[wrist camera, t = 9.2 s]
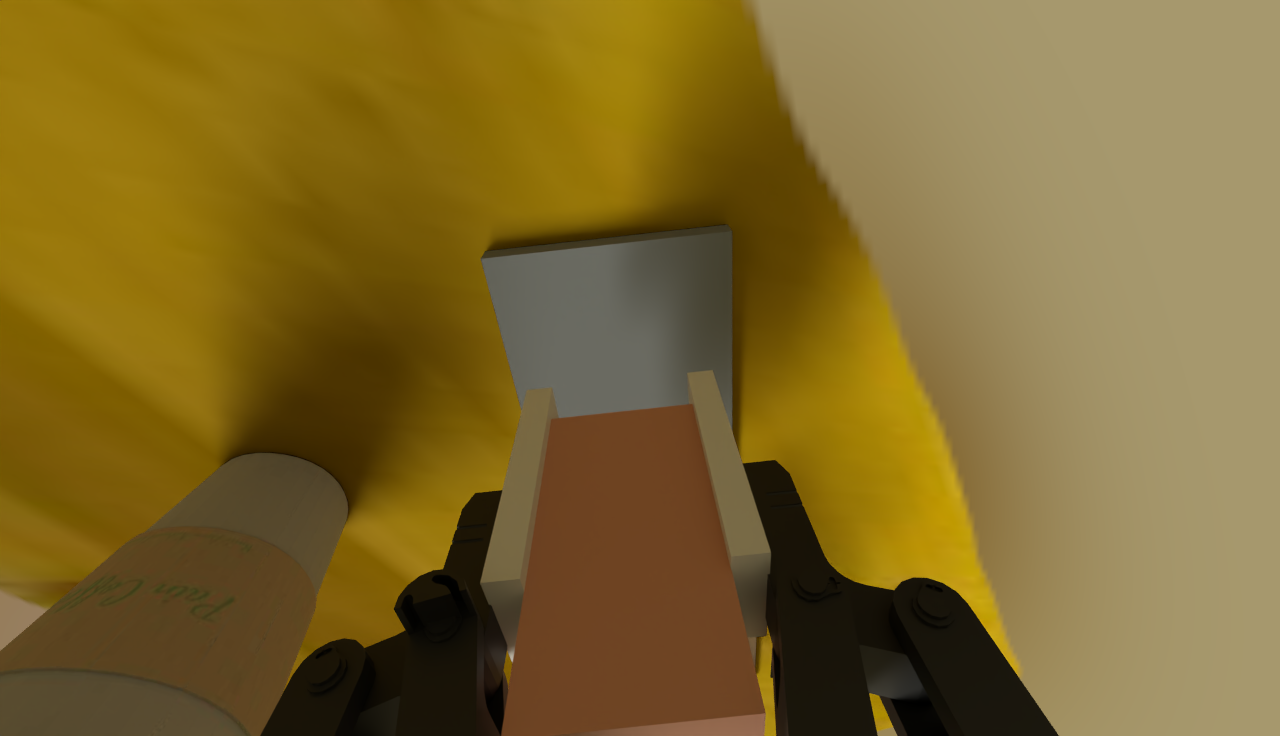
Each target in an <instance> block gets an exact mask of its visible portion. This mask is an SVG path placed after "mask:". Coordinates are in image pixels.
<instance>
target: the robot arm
mask: <svg viewBox="0 0 1280 736" xmlns="http://www.w3.org/2000/svg"><path fill="white" fill-rule="evenodd" d="M687 380H688V398H689V404H693V409H694V413H695V417H696V422H697V426H698V430H699V434H700V439H701V443H702V447H703V452H704V456H705V460H706V464H707V469H708V473H709V477H710V481H711V486H712V490H713V494H714V499H715V503H716V507H717V511H718V516H719V520H720V524H721V529H722V533H723V537H724V541H725V546H726V550H727V554H728V558H729V563H730V567H731V570H732V573H733V578H734V582H735V586H736V590H737V595H738V599H739V603H740V607H741V612H742V616H743V620H744V624H745V629H746V633H747V637H748V638H750V637H760V636H766V634H767V625H768V629H769V632H770V636H771V640H772V643H773V648H772V663H771V678H773V686H774V703H775V719H776V736H878V735H877V730H876V726H875V721H874V716H873V711H872V706H871V701H870V696H869V693H872V694H876V695H879V696H880V698H881V700H882V703H883V705H884V707H885V709H886V711H887V714H888V716H889V718H890V720H891V723H892V725H893V727H894V729H895V731H896V733H897V735H898V736H1058V734H1057V732H1056V731H1055V729H1054V728H1053V727H1052V726H1051V724H1050V723H1049V721H1048V719H1047V718H1046V716H1045V715H1044V714H1043V712H1042V711H1041V709H1040V708H1039V706H1038V705H1037V703H1036V702H1035V700H1034V699H1033V698H1032V696H1031V695H1030V693H1029V692H1028V690H1027V689H1026V687H1025V686H1024V685H1023V683H1022V682H1021V680H1020V679H1019V677H1018V676H1017V674H1016V673H1015V671H1014V670H1013V669H1012V667H1011V666H1010V664H1009V663H1008V661H1007V660H1006V658H1005V657H1004V655H1003V654H1002V653H1001V651H1000V650H999V648H998V647H997V645H996V644H995V642H994V641H993V640H992V638H991V637H990V635H989V634H988V632H987V631H986V629H985V628H984V626H983V625H982V624H981V622H980V621H979V619H978V618H977V616H976V615H975V613H974V612H973V611H972V609H971V608H970V606H969V605H968V603H967V602H966V601H965V600H964V599H963V598H962V597H961V596H960V595H959V594H958V593H957V592H956V591H955V590H953V589H951V588H950V587H948V586H947V585H945V584H943V583H941V582H938V581H935V580H932V579H929V578H911V579H908V580H905V581H902V582H901V583H900V584H899V585H898V587H897V588H896V589H895V591H894V590H889V589H884V588H878V587H873V586H868V585H864V584H860V583H857V582H854V581H852V580H850V579H848V578H846V577H844V576H843V575H841V574H840V573H839V572H837V571H836V570H835V569H834V568H833V567H832V566H831V565H830V564H829V562H828V561H827V559H826V557H825V556H824V554H823V551H822V549H821V546H820V544H819V542H818V539H817V537H816V535H815V532H814V530H813V528H812V525H811V523H810V521H809V518H808V516H807V514H806V511H805V509H804V506H802V502H801V499H800V497H799V495H798V493H797V491H796V488H795V485H794V483H793V481H792V478H791V476H790V473H788V472H787V471H786V470H785V469H784V468H783V467H782V466H781V465H780V464H779V463H778V462H777V461H776V460H772V461H762V462H753V463H744V464H743V463H742V460H741V457H740V454H739V451H738V448H737V445H736V442H735V439H734V435H733V432H732V429H731V426H730V423H729V420H728V417H727V414H726V411H725V407H724V404H723V401H722V398H721V395H720V392H719V389H718V386H717V382H716V379H715V376H714V373H713V370H709V371H700V372H690V373H687ZM555 418H559V416H558V412H557V407H556V403H555V398H554V394H553V389H552V387H551V388H541V389H532V390H527V391H526V395H525V400H524V404H523V408H522V412H521V416H520V420H519V424H518V429H517V433H516V437H515V441H514V445H513V449H512V453H511V457H510V462H509V466H508V470H507V474H506V478H505V482H504V486H503V490H501V491H491V492H482V493H475V494H474V495H473V497H472V498H471V499H470V500H469V502H468V503H467V504H466V505H465V507H464V508H463V509H462V512H461V515H460V518H459V521H458V525H457V530H456V531H455V534H454V537H453V540H452V545H451V546H450V550H449V553H448V556H447V559H446V562H445V565H444V568H443V569H442V570H433V571H431V572H428V573H426V574H424V575H421V576H419V577H418V578H417V579H415V580H414V581H413V582H411V583H410V584H409V585H407V587H406V588H405V589H404V590H403V592H402V593H401V594H400V596H399V597H398V599H397V602H396V605H395V607H394V610H395V612H396V614H397V616H398V617H399V619H400V621H401V623H402V624H403V626H404V628H405V631H404V632H402V633H400V634H398V635H396V636H393V637H391V638H388V639H386V640H383V641H381V642H378V643H376V644H374V645H371V646H369V647H366V648H364V647H363V646H362V645H361V644H360V643H358V642H357V641H356V640H351V639H340V640H336V641H332V642H329V643H327V644H325V645H324V646H322V647H320V648H318V649H316V650H315V651H314V652H313V653H312V654H311V655H309V656H308V657H307V658H306V659H305V660H304V661H303V662H302V663H301V664H300V666H299V667H298V669H297V670H296V671H295V673H294V674H293V676H292V677H291V679H290V681H289V683H288V685H287V687H286V689H285V690H284V692H283V694H282V696H281V698H280V700H279V702H278V703H277V705H276V707H275V709H274V711H273V713H272V715H271V716H270V718H269V720H268V722H267V724H266V726H265V728H264V729H263V731H262V733H261V735H260V736H501V734H502V727H503V721H504V715H505V708H506V702H507V696H508V684H507V680H506V676H505V673H504V671H503V669H504V663H505V657H506V651H508V653H509V656H510V658H511V661H512V662H513V658H514V651H515V645H516V639H517V632H518V626H519V619H520V613H521V607H522V600H523V594H524V590H525V584H526V577H527V571H528V565H529V558H530V552H531V545H532V539H533V533H534V526H535V520H536V513H537V507H538V501H539V494H540V488H541V482H542V475H543V469H544V462H545V456H546V450H547V443H548V437H549V431H550V424H551V419H555Z"/></svg>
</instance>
